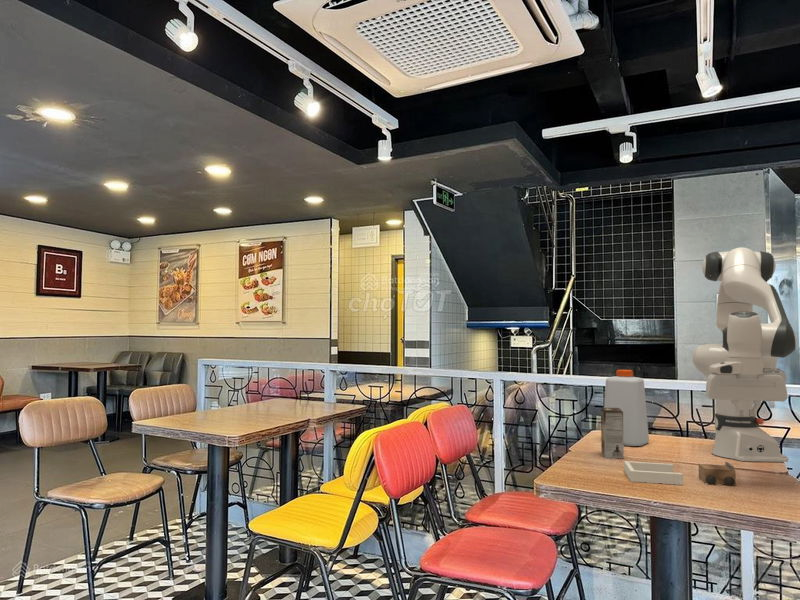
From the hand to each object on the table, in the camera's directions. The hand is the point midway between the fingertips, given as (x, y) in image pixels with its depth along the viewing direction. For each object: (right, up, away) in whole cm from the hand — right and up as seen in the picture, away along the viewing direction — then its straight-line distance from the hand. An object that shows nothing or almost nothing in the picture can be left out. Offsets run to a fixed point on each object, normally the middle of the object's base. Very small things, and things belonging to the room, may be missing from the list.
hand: (746, 416), depth 163 cm
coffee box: (-26, -21, +34) cm, 47 cm away
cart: (-8, -19, +1) cm, 21 cm away
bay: (-24, -19, +5) cm, 31 cm away
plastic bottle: (-12, -22, +57) cm, 63 cm away
